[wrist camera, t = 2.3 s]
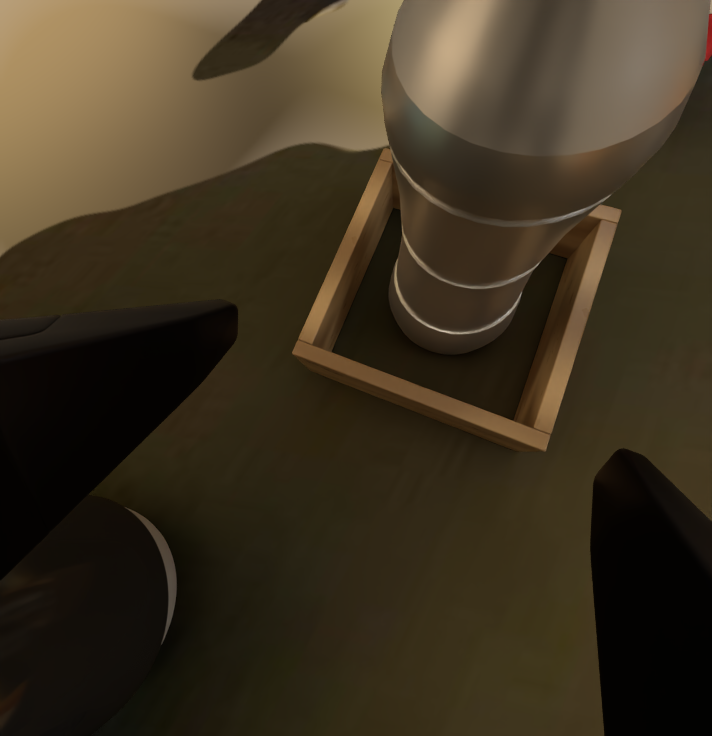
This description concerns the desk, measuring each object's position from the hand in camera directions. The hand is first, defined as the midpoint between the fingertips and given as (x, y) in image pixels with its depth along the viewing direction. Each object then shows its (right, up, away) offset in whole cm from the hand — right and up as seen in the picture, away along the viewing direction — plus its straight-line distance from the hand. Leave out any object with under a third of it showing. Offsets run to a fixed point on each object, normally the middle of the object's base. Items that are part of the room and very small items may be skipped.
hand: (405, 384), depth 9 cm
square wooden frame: (+4, +4, +14) cm, 15 cm away
